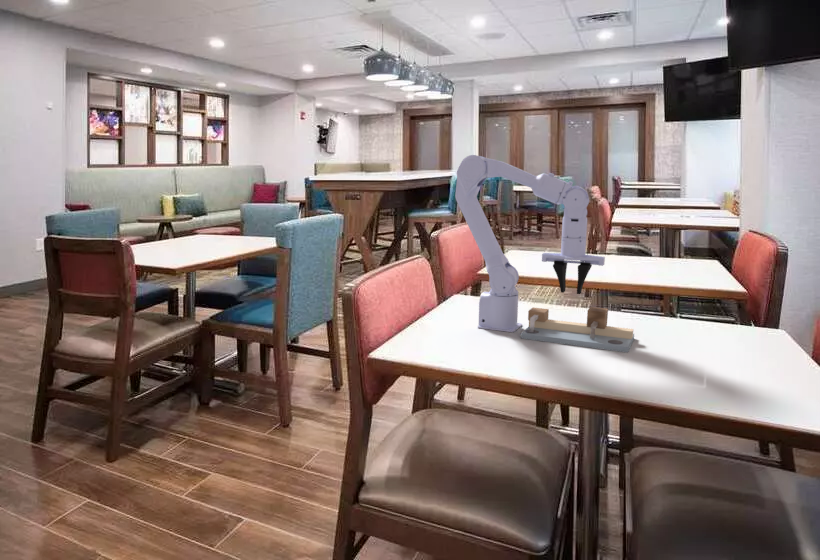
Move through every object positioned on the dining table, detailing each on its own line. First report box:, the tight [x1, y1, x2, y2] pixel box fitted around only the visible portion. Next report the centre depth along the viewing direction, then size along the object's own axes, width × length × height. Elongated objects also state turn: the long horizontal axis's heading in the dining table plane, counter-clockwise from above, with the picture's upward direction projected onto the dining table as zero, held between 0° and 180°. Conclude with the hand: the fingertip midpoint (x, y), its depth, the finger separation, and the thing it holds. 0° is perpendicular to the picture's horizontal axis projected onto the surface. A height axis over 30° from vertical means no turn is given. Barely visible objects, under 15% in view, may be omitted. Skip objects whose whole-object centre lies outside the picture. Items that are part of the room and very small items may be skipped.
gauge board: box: [520, 307, 635, 353], centre depth 135 cm, size 24×12×5 cm, turn 63°
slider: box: [586, 306, 609, 339], centre depth 133 cm, size 4×8×6 cm, turn 153°
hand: (570, 292), depth 140 cm, fingers open, 3 cm apart
